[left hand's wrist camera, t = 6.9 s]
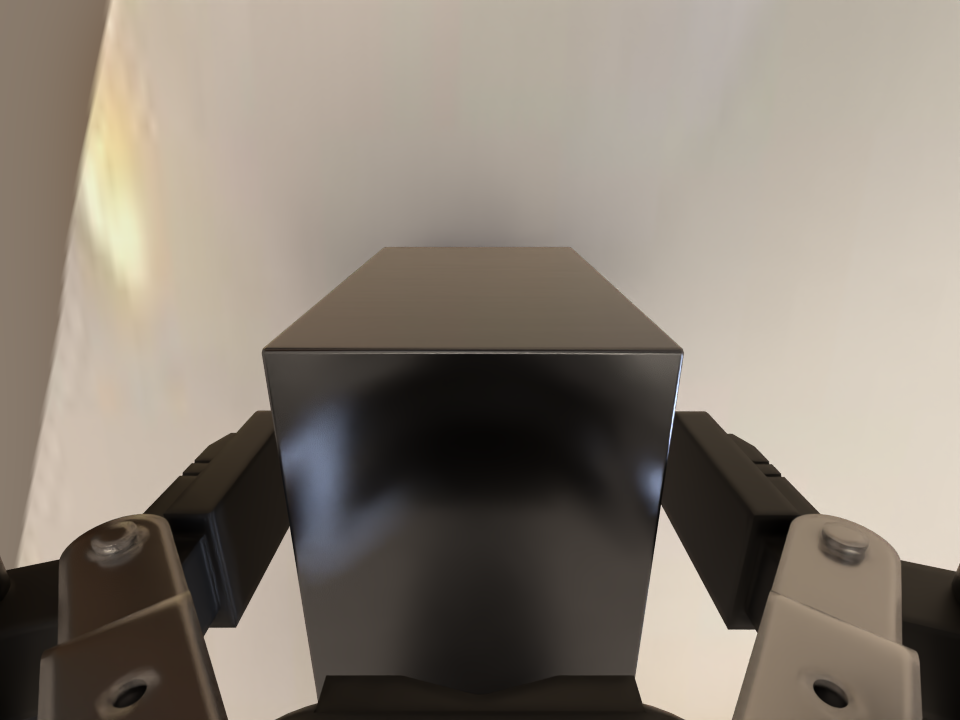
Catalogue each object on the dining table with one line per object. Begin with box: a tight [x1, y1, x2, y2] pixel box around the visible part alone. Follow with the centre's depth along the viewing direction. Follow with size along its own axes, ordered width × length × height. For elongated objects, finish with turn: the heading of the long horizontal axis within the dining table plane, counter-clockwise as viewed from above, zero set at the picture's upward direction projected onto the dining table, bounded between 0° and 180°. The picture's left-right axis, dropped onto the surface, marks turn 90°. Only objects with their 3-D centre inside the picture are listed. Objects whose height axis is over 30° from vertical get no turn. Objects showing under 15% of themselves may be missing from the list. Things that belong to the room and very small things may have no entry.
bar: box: [262, 247, 684, 701], centre depth 15 cm, size 23×6×9 cm, turn 0°
